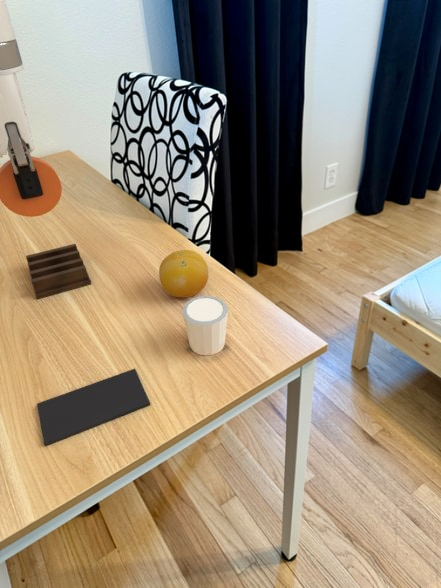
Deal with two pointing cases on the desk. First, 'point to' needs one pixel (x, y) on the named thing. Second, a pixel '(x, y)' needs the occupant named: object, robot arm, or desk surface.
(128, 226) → the desk surface
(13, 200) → the disc
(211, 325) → the shot glass
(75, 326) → the desk surface
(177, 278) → the fruit
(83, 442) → the desk surface
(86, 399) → the mat
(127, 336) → the desk surface
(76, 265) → the rack
